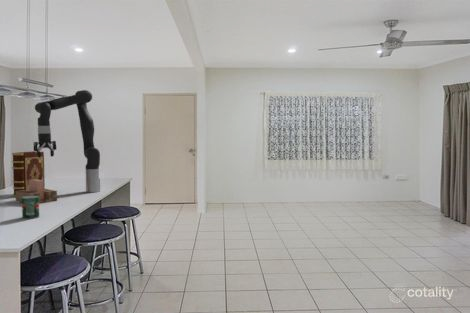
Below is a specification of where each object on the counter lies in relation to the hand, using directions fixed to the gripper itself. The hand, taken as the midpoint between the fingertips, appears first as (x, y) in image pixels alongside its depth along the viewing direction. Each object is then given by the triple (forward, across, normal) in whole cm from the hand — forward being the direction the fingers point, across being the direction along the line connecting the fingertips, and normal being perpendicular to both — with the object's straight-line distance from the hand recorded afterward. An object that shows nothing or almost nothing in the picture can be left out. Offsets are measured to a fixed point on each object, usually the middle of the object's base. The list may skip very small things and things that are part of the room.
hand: (45, 156), depth 239 cm
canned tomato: (+27, +35, +44) cm, 63 cm away
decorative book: (+28, 0, -24) cm, 37 cm away
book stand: (+28, +10, +4) cm, 30 cm away
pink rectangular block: (+26, +10, +4) cm, 28 cm away
